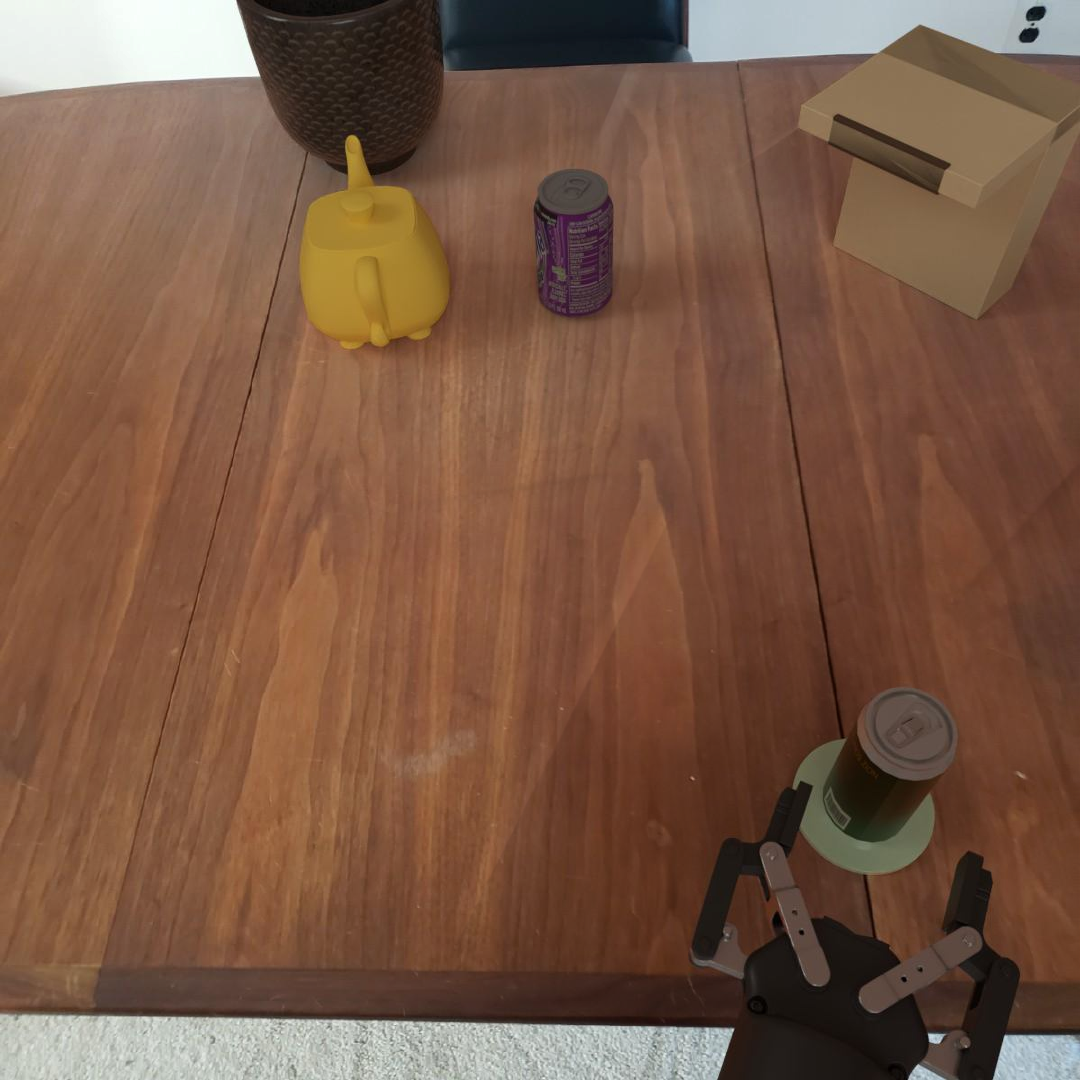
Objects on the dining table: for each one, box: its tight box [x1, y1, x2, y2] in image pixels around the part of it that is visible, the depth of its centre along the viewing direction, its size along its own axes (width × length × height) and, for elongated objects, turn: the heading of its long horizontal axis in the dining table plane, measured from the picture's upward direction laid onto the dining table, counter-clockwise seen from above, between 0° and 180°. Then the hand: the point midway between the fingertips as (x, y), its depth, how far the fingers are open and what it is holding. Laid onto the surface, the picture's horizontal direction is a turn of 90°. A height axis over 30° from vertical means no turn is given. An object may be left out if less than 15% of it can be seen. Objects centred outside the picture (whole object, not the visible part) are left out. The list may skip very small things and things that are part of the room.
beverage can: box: [532, 168, 614, 318], centre depth 89 cm, size 7×7×12 cm
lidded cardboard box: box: [797, 24, 1080, 321], centre depth 85 cm, size 20×16×20 cm
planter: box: [235, 0, 445, 176], centre depth 102 cm, size 20×20×19 cm
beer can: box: [823, 686, 959, 843], centre depth 58 cm, size 5×5×12 cm
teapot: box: [299, 135, 451, 350], centre depth 89 cm, size 14×20×13 cm
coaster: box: [791, 738, 936, 876], centre depth 63 cm, size 9×9×1 cm
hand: (885, 821), depth 50 cm, fingers open, 8 cm apart
